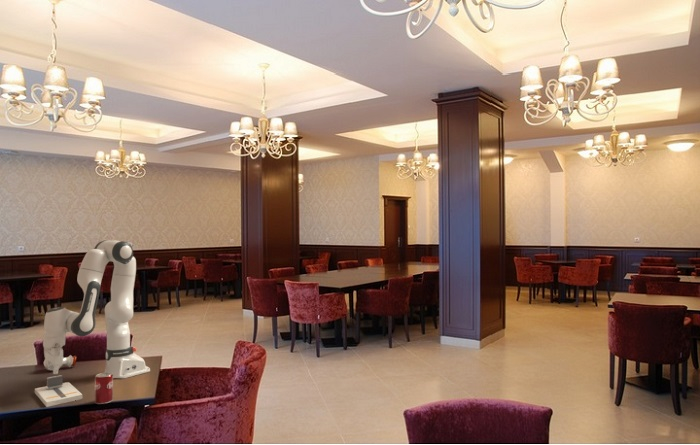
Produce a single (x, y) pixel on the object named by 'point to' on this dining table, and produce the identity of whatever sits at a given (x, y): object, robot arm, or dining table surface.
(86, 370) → the dining table surface
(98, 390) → the soda can
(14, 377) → the dining table surface
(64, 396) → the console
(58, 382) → the fader
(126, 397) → the dining table surface
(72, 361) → the potion bottle
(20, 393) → the dining table surface
